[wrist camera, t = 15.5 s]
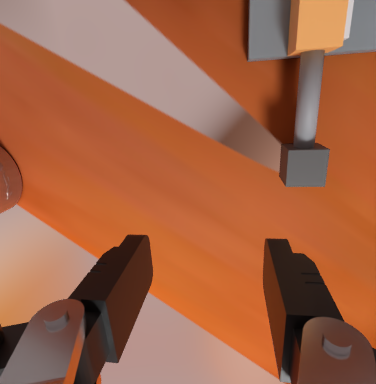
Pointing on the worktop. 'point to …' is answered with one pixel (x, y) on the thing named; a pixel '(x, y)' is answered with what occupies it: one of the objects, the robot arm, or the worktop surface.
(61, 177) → the worktop surface
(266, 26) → the vise
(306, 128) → the vise jaw
